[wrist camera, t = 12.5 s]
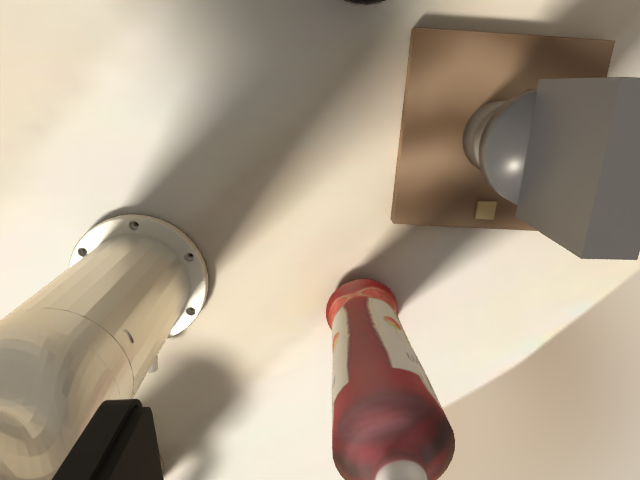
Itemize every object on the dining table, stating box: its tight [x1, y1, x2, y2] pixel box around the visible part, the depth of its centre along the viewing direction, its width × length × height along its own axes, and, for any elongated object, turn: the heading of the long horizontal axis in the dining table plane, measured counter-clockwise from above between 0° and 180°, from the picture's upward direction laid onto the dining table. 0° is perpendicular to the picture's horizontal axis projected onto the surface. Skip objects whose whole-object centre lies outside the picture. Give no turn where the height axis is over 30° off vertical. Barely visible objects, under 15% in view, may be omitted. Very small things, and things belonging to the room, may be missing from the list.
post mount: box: [391, 27, 615, 231], centre depth 37 cm, size 16×16×8 cm
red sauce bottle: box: [326, 279, 455, 480], centre depth 32 cm, size 7×7×28 cm
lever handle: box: [478, 77, 640, 260], centre depth 28 cm, size 8×9×10 cm
